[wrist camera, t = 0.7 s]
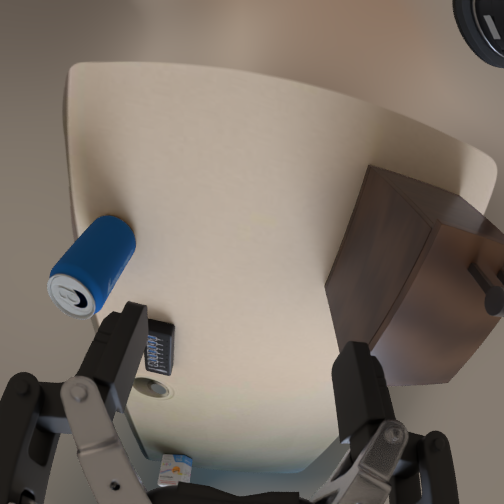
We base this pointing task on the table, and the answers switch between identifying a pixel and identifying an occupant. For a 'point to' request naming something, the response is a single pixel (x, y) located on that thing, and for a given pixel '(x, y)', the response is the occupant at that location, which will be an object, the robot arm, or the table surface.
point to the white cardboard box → (174, 469)
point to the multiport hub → (159, 347)
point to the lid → (443, 307)
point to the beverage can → (91, 267)
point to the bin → (388, 247)
